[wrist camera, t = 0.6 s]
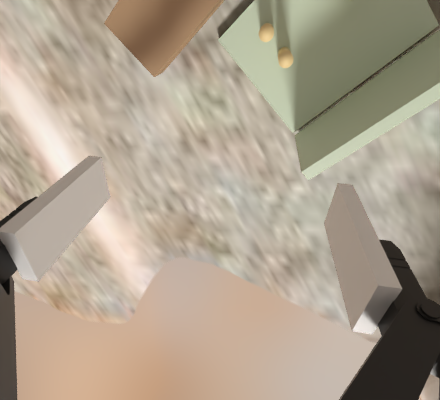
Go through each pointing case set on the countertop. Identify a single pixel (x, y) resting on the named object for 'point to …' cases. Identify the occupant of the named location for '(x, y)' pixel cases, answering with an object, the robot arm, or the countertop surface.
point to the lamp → (430, 389)
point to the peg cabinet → (338, 68)
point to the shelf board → (158, 27)
